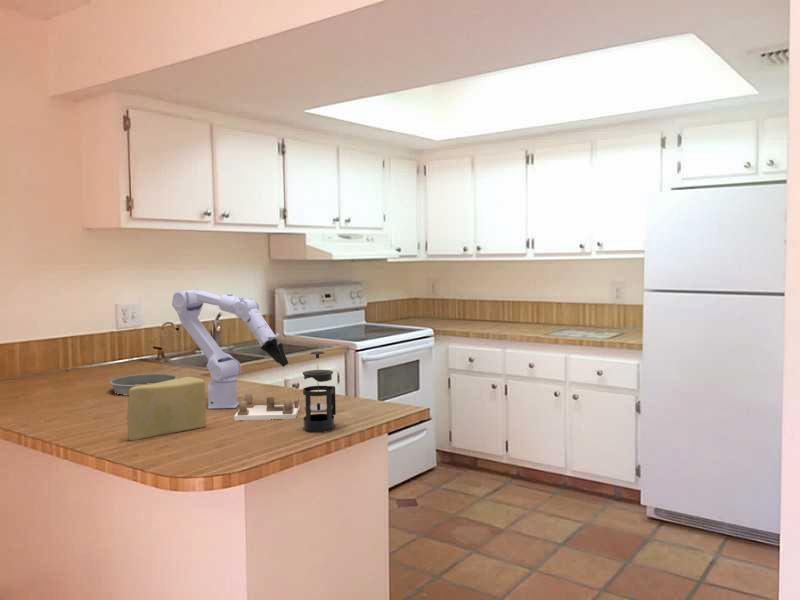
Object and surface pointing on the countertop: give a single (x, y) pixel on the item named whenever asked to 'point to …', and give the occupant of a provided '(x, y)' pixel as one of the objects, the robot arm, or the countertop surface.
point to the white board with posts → (259, 411)
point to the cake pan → (138, 381)
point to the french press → (318, 420)
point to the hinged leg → (271, 405)
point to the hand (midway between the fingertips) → (283, 363)
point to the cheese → (166, 408)
